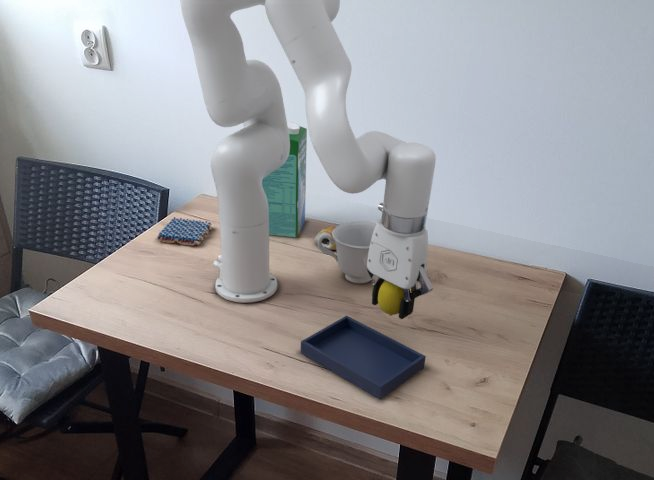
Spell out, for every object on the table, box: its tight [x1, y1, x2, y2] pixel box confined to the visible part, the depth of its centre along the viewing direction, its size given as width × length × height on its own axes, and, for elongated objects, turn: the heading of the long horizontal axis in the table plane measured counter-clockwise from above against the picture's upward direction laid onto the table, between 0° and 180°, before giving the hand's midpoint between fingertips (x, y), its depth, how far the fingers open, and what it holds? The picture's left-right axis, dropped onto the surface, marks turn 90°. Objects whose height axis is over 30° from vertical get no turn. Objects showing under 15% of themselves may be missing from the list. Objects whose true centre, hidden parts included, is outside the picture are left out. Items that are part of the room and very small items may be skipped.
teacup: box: [316, 220, 376, 284], centre depth 145 cm, size 12×15×10 cm
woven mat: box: [156, 216, 213, 246], centre depth 162 cm, size 10×11×2 cm
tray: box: [300, 315, 427, 400], centre depth 123 cm, size 18×12×3 cm
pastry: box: [314, 226, 337, 251], centre depth 160 cm, size 9×7×4 cm
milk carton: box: [262, 120, 308, 239], centre depth 160 cm, size 9×9×25 cm
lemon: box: [377, 280, 404, 317], centre depth 128 cm, size 6×6×8 cm
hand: (391, 308), depth 129 cm, fingers closed on lemon, 5 cm apart
